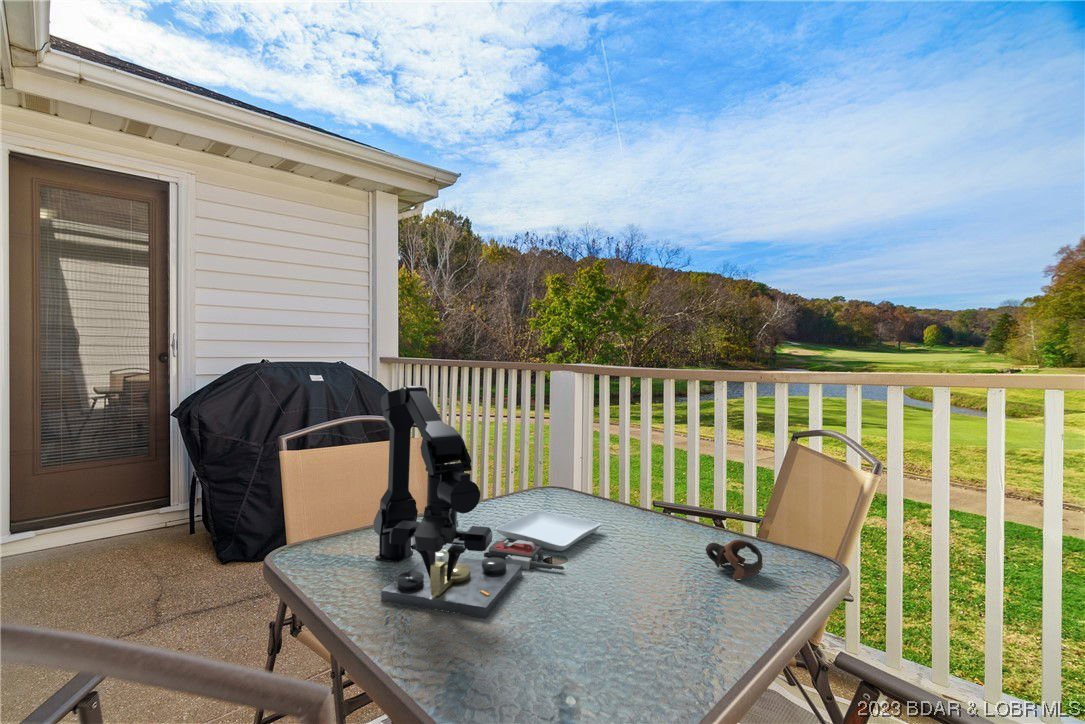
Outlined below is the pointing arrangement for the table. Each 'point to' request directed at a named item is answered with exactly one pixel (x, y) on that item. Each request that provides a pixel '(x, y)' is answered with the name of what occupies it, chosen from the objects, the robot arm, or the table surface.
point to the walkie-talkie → (519, 554)
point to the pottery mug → (735, 557)
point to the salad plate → (548, 529)
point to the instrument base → (456, 586)
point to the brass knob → (440, 576)
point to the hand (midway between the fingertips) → (440, 579)
